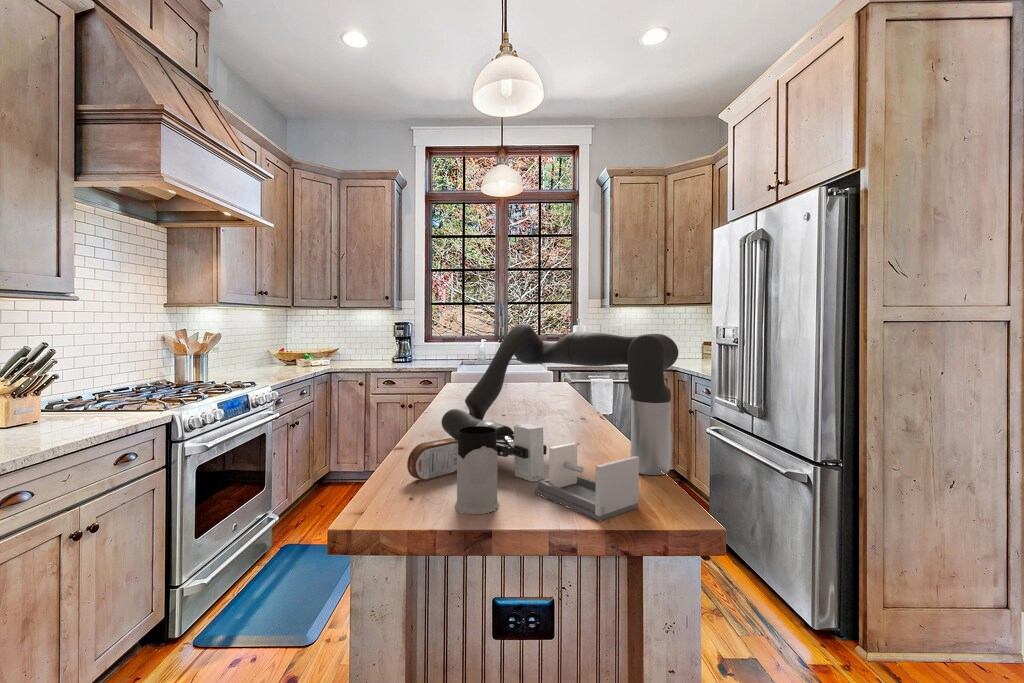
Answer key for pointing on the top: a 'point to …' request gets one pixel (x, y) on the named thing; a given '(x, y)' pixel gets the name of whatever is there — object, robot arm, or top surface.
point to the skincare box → (529, 452)
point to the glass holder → (477, 470)
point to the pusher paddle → (563, 465)
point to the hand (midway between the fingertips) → (536, 452)
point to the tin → (433, 459)
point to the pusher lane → (599, 490)
